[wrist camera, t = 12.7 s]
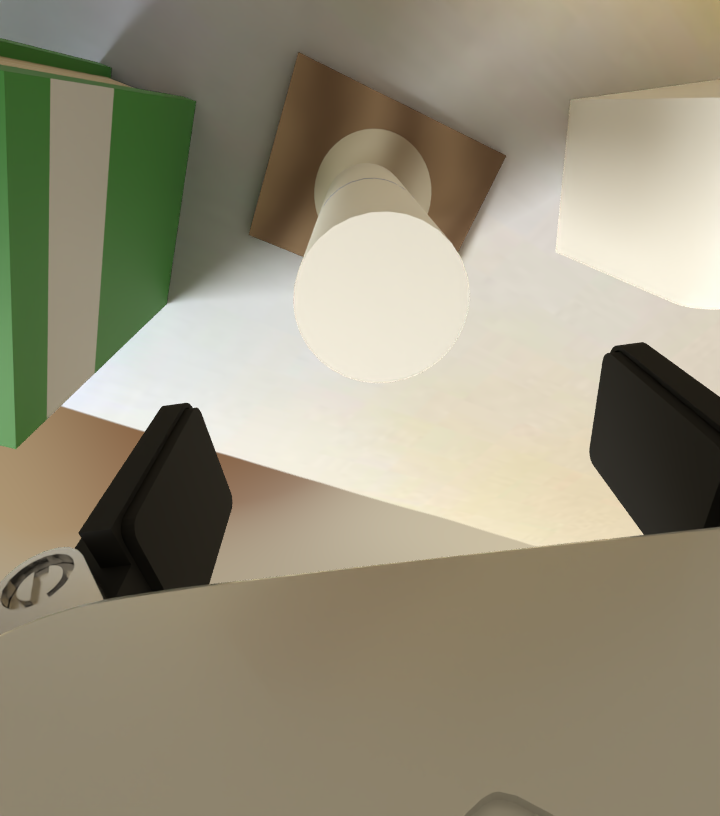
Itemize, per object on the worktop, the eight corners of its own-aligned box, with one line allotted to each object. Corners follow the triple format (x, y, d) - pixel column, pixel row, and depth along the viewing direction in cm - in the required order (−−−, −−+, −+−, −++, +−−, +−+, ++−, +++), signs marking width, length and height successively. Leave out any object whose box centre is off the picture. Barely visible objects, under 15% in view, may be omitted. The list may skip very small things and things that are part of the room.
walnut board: (251, 232, 42) (248, 235, 41) (299, 54, 36) (298, 51, 35) (428, 303, 46) (430, 308, 45) (502, 155, 39) (506, 155, 38)
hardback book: (98, 62, 36) (-242, -23, 15) (196, 101, 37) (4, 70, 17) (87, 279, 44) (-141, 411, 24) (166, 303, 46) (15, 449, 25)
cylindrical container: (417, 175, 39) (497, 237, 18) (394, 260, 42) (437, 397, 21) (333, 152, 38) (310, 189, 17) (317, 241, 42) (280, 365, 20)
